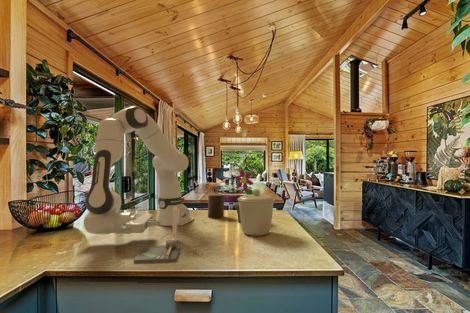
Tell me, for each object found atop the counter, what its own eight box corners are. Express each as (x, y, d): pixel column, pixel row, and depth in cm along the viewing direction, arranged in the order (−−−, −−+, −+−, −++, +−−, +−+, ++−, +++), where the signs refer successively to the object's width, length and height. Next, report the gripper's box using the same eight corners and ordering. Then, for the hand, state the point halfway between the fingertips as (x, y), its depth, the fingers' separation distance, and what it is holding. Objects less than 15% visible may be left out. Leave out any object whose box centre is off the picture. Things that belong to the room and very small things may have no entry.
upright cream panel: (171, 236, 120) (171, 206, 121) (180, 235, 121) (180, 206, 121) (161, 256, 95) (161, 219, 95) (173, 256, 95) (173, 219, 95)
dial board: (143, 249, 106) (143, 246, 106) (179, 248, 108) (179, 245, 108) (133, 262, 93) (133, 259, 93) (175, 261, 94) (175, 258, 94)
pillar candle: (217, 219, 161) (217, 193, 162) (204, 217, 167) (205, 192, 167) (226, 216, 170) (227, 192, 170) (214, 214, 175) (214, 191, 175)
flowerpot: (229, 222, 153) (229, 169, 153) (243, 218, 164) (243, 168, 165) (251, 226, 144) (251, 169, 145) (264, 221, 156) (264, 169, 157)
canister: (231, 230, 136) (231, 188, 136) (263, 227, 143) (263, 186, 143) (247, 240, 119) (247, 192, 119) (282, 236, 126) (282, 190, 127)
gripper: (118, 221, 105) (155, 220, 106) (132, 211, 125) (163, 210, 126) (118, 237, 105) (155, 236, 106) (132, 225, 125) (163, 224, 126)
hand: (160, 222), depth 116 cm, fingers closed
